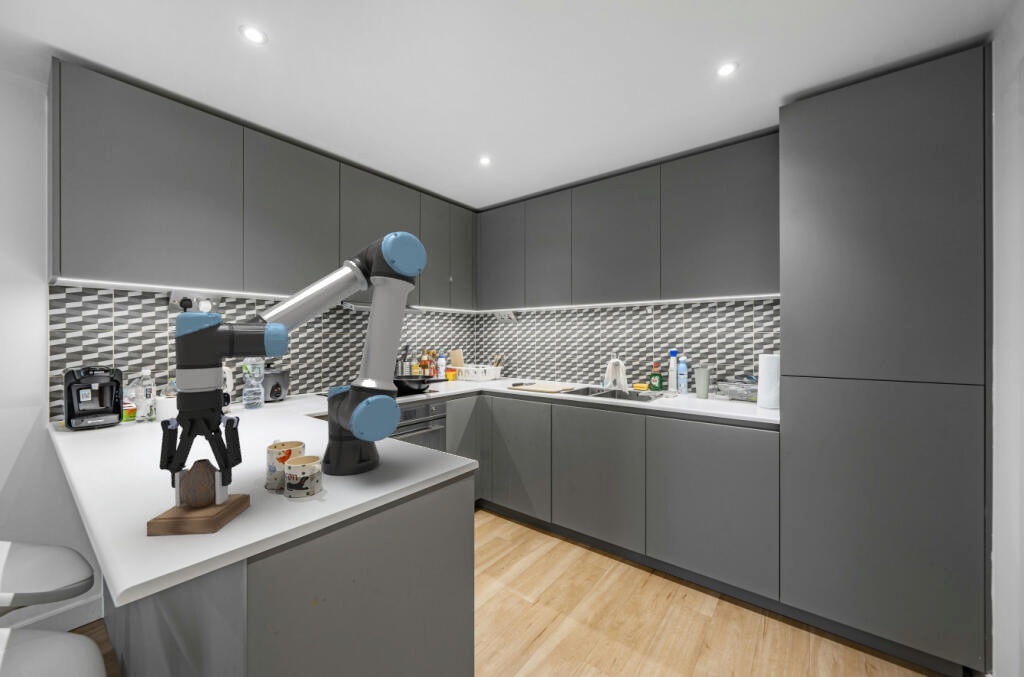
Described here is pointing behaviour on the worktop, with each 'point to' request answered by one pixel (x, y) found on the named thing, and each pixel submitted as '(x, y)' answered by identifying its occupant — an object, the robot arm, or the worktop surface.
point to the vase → (199, 484)
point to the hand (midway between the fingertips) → (202, 502)
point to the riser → (198, 517)
